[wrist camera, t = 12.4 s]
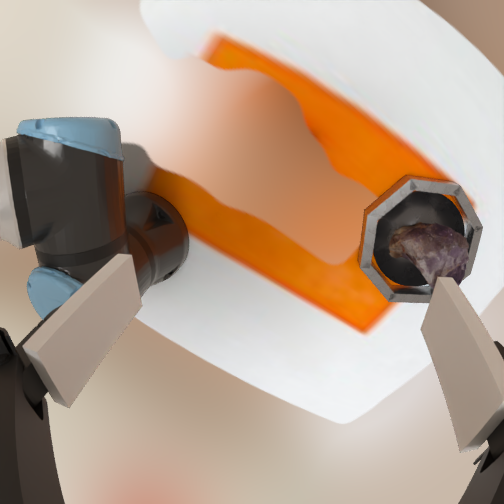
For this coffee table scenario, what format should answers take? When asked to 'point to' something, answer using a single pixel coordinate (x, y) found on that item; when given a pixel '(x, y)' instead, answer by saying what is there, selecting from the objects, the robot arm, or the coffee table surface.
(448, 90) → the coffee table surface
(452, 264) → the rock
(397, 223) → the collar
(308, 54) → the coffee table surface
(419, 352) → the coffee table surface
